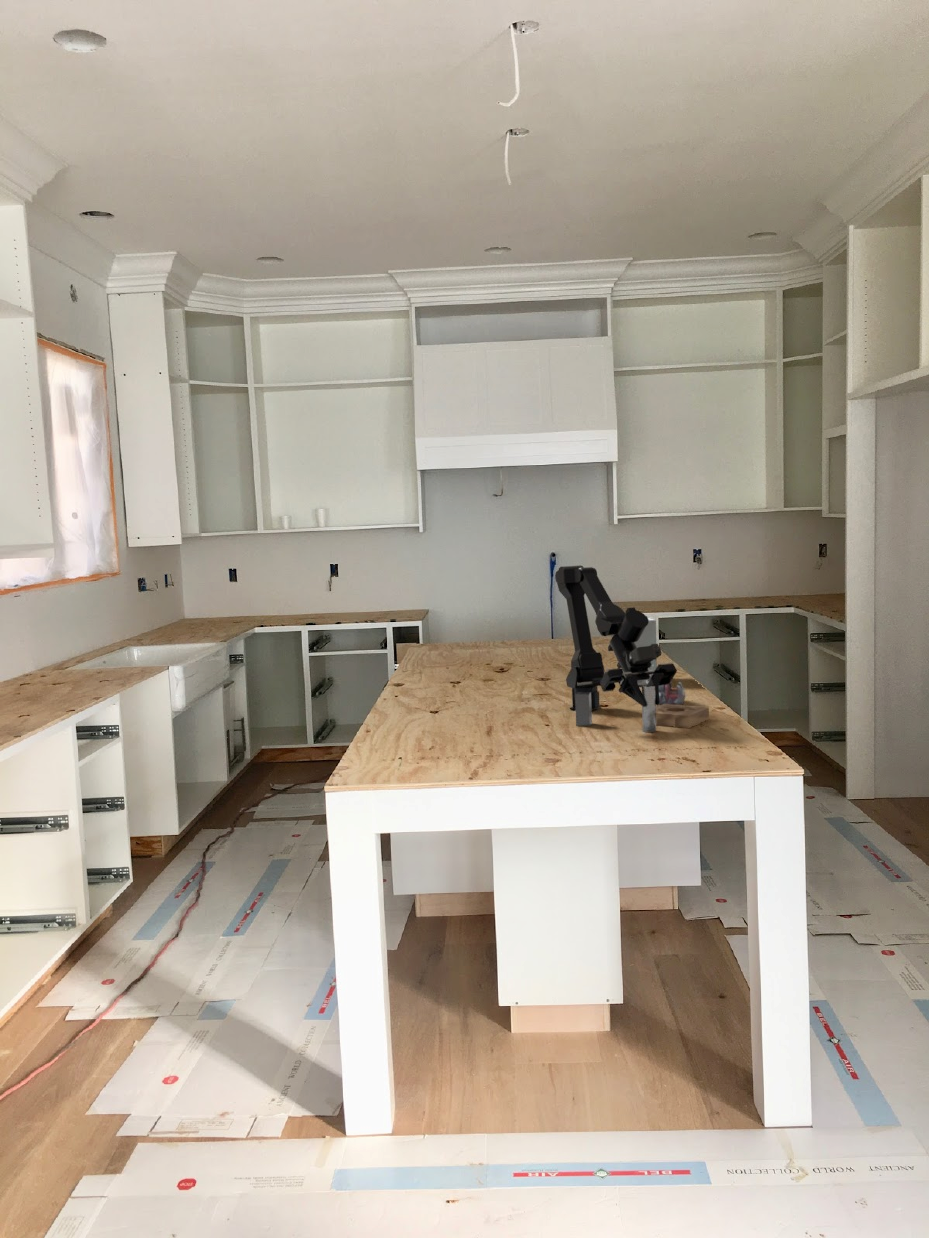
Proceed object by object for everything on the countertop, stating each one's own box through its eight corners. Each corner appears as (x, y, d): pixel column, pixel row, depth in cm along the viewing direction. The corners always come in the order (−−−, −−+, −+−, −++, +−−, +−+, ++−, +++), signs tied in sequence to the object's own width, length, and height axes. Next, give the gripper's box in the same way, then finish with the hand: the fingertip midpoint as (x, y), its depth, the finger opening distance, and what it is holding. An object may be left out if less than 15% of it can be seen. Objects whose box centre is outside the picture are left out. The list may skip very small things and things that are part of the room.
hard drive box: (657, 685, 301) (656, 620, 299) (632, 686, 301) (630, 621, 299) (649, 677, 316) (647, 615, 314) (625, 678, 316) (623, 616, 315)
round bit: (640, 731, 238) (639, 686, 237) (646, 729, 240) (645, 684, 239) (652, 733, 236) (651, 687, 235) (658, 730, 239) (657, 685, 237)
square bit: (576, 725, 248) (575, 694, 247) (578, 723, 251) (577, 691, 250) (589, 726, 247) (588, 694, 246) (592, 723, 250) (591, 692, 249)
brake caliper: (692, 698, 264) (664, 663, 266) (660, 722, 268) (631, 687, 269) (695, 691, 275) (667, 657, 276) (663, 714, 278) (636, 680, 280)
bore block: (643, 723, 247) (643, 711, 247) (664, 715, 256) (664, 703, 256) (688, 728, 240) (688, 715, 239) (709, 719, 249) (708, 707, 249)
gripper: (604, 636, 236) (628, 688, 227) (672, 630, 243) (698, 681, 234) (590, 665, 245) (612, 716, 235) (656, 658, 251) (680, 708, 242)
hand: (651, 705), depth 236 cm, fingers closed on round bit, 3 cm apart
